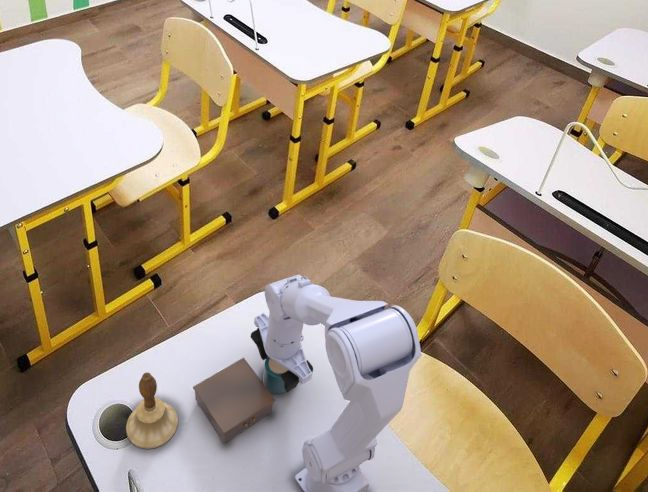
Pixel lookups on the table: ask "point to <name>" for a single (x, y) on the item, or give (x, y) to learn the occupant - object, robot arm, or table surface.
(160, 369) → the table surface
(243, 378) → the brown wooden box
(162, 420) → the hand bell
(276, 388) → the cup
